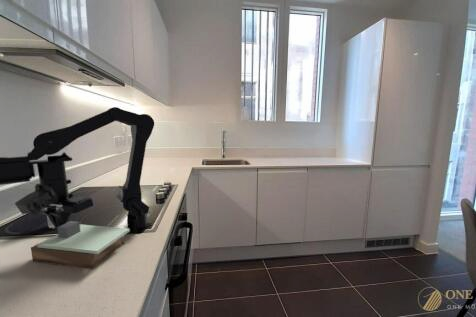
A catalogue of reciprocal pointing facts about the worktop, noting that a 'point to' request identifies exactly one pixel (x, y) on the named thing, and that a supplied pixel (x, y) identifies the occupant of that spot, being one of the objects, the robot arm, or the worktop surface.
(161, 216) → the worktop surface
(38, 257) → the tea box
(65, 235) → the lid
